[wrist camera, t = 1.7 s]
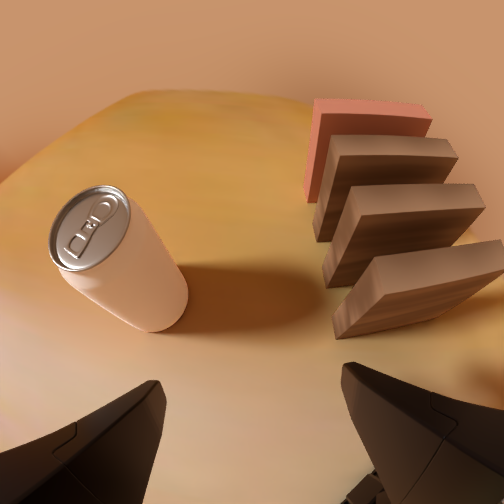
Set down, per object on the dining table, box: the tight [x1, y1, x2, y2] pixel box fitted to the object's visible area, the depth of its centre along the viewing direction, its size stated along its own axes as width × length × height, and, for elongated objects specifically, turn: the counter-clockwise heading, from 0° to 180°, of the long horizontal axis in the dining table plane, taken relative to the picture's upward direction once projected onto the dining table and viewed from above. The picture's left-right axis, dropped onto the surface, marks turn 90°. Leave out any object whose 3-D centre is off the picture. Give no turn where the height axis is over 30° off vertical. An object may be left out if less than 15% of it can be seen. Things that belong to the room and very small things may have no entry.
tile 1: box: [332, 240, 504, 339], centre depth 18 cm, size 2×10×11 cm, turn 95°
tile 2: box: [322, 184, 486, 288], centre depth 20 cm, size 2×10×11 cm, turn 95°
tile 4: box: [303, 99, 432, 203], centre depth 25 cm, size 2×10×11 cm, turn 96°
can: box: [48, 185, 188, 332], centre depth 20 cm, size 6×6×12 cm
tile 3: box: [313, 135, 458, 242], centre depth 22 cm, size 2×10×11 cm, turn 95°
